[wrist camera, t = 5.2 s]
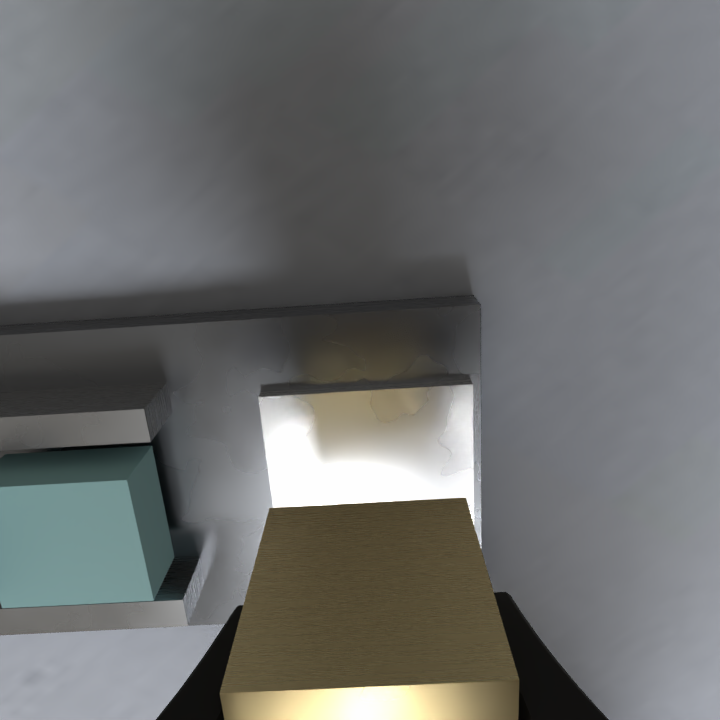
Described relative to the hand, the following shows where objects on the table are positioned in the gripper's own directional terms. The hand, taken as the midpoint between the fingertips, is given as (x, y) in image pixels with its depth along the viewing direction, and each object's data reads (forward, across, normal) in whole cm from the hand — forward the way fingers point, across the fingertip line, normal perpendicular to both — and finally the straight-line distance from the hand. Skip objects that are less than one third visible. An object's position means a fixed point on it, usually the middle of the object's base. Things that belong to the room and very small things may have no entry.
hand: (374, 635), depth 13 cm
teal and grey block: (+6, +10, 0) cm, 11 cm away
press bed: (+8, +6, 0) cm, 10 cm away
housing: (+2, 0, 0) cm, 2 cm away
